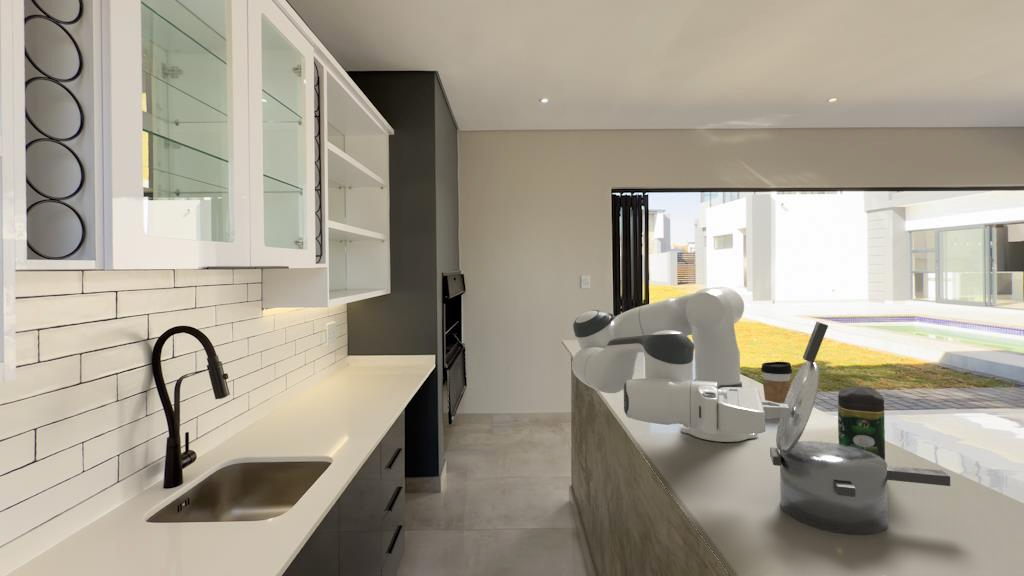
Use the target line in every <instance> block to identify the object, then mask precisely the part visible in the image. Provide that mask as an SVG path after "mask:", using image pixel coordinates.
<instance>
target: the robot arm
mask: <svg viewBox="0 0 1024 576" xmlns="http://www.w3.org/2000/svg"><path fill="white" fill-rule="evenodd" d="M744 310H745V303H744V300H743V298H742V296H741V295H740V294H739V293H738V292H737V291H736V290H734V289H732V288H730V287H726V286H718V287H717V286H716V287H708V288H702V289H700V290H698V291H696V292H693V293H688V294H684V295H680V296H676V297H672V298H668V299H664V300H660V301H655V302H652V303H648V304H644V305H641V306H637V307H633V308H631V309H629V310H626V311H624V312H622V313H619V314H618V315H614V314H613V313H611V312H610V313H609V312H608V313H607V312H606V311H603V310H599V309H593V310H589V311H586V312H583V313H582V314H580V315H578V317H577V318H575V320H574V322H573V324H572V328H573V333H574V336H575V337H576V338H577V341H578V344H579V346H580V350H578V351H577V352H576V353H575V354H574V356H573V358H572V361H571V368H572V372H573V374H574V375H575V377H576V378H577V380H579V381H581V382H582V383H583V384H584V385H586V386H588V387H589V388H591V389H593V390H596V391H598V392H601V393H604V394H617V393H619V392H621V391H623V411H624V414H625V416H626V417H627V418H629V419H632V420H635V421H640V422H645V423H650V424H657V425H666V426H668V425H676V424H677V425H678V424H679V425H681V427H680V432H682V433H686V434H688V435H689V434H690V435H692V436H693V437H695V438H699V439H702V440H707V441H713V442H721V443H722V442H724V443H732V442H733V443H734V442H742V441H746V440H748V439H757V438H759V437H758V435H759V434H763V433H765V431H766V419H768V420H769V419H772V420H773V419H780V417H783V418H790V417H791V409H790V406H789V405H788V404H778V403H775V402H771V401H765V399H762V398H761V394H760V391H759V389H758V388H754V387H744V386H743V382H742V381H741V358H740V356H741V354H740V350H739V347H738V342H737V337H736V330H735V324H736V323H738V322H739V321H741V318H742V316H743V314H744ZM689 336H691V338H690V337H689ZM640 353H643V355H644V364H645V365H644V367H645V368H644V369H645V370H644V371H645V375H644V376H645V377H644V378H634V375H635V367H636V361H637V358H638V355H639V354H640ZM693 363H694V364H693ZM693 365H694V367H693ZM693 368H694V370H693ZM693 371H695V373H694V374H695V375H693ZM693 376H694V377H693ZM693 378H695V379H693Z"/></svg>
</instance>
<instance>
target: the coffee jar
mask: <svg viewBox="0 0 1024 576" xmlns="http://www.w3.org/2000/svg"><path fill="white" fill-rule="evenodd" d="M838 391H839V392H838V396H837V397H838V398H837V399H838V400H837V427H838V428H837V430H838V434H837V435H838V444H841V445H846V446H851V447H855V448H859V449H862V450H865V451H868V452H871V453H873V454H875V455H877V456H879V457H881V458H882V459H884V460H885V461H886V438H885V435H886V433H885V430H886V429H885V399H884V397H883V395H882V394H881V393H880V392H878V391H877V390H875V389H874V388H872V387H871V386H870V387H869V386H859V385H848V386H847V387H844V388H842V389H840V390H838Z"/></svg>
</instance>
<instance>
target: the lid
mask: <svg viewBox="0 0 1024 576" xmlns="http://www.w3.org/2000/svg"><path fill="white" fill-rule="evenodd" d="M828 328H829V325H828V324H826V323H823V322H820V321H816V322H815V324H814V327H813V330H812V333H811V335H810V337H809V341H808V343H807V345H806V347H805V350H804V352H803V355H802V359H803V360H804V361H805V362H804V363H803V365H801V367H800V368H799V370H798V371H797V373H796V375H795V377H794V378H793V379H792V381H791V384H790V389H789V391H788V394H787V396H786V399H785V402H784V404H788V405H789V406H790V409H791V417H790V418H783V417H779V418H778V419H779V420H778V424H777V428H776V435H775V440H776V441H775V442H776V448H777V449H778V451H780V450H781V451H783V452H789V451H791V450H792V449H793V447H794V446H795V445H796V443H797V442H799V440H800V438H801V437H802V435H803V433H804V431H805V429H806V427H807V424H808V421H809V419H810V417H811V414H812V412H813V408H814V404H815V402H816V398H817V395H818V388H819V385H820V373H821V372H820V366H819V364H818V363H817V362H815V360H816V358H817V355H818V353H819V350H820V347H821V345H822V342H823V340H824V338H825V335H826V333H827V330H828Z"/></svg>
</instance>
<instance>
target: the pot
mask: <svg viewBox="0 0 1024 576" xmlns="http://www.w3.org/2000/svg"><path fill="white" fill-rule="evenodd" d="M769 457H770V460H771V462H772V465H773V466H776V467H777V466H778V467H779V473H780V474H779V478H780V479H779V480H780V483H779V484H780V485H779V487H780V488H779V489H780V490H779V492H780V493H779V494H780V497H779V498H780V506H781V509H782V510H783V511H784V512H785V513H786V514H787V515H789V516H790V517H791V518H793V519H794V520H797V521H799V522H801V523H803V524H806V525H808V526H811V527H813V528H816V529H820V530H823V531H828V532H833V533H837V534H845V535H853V536H854V535H857V536H860V535H861V536H865V535H866V536H867V535H874V534H878V533H880V532H883V531H885V530H886V529H887V527H888V524H889V522H888V521H889V519H888V514H889V513H888V481H894V482H895V481H896V482H902V483H903V482H906V483H914V484H915V483H916V484H925V485H926V484H927V485H934V486H944V487H951V476H950V475H949V474H948V473H947V472H946V471H944V470H940V469H939V470H937V469H929V468H917V467H908V466H907V467H906V466H896V465H888V463H887V461H886V459H885V460H884V459H882V458H881V457H879V456H877V455H875V454H873V453H871V452H868V451H865V450H862V449H859V448H855V447H851V446H846V445H841V444H839V443H833V442H824V441H816V440H815V441H812V440H811V441H805V440H803V441H798V442H797V443H796V445H795V446H794V447H793V449H792V450H791V451H789V452H783V451H781V450H779V449H778V448H777V447H771V446H770V448H769ZM884 529H885V530H884Z"/></svg>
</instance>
